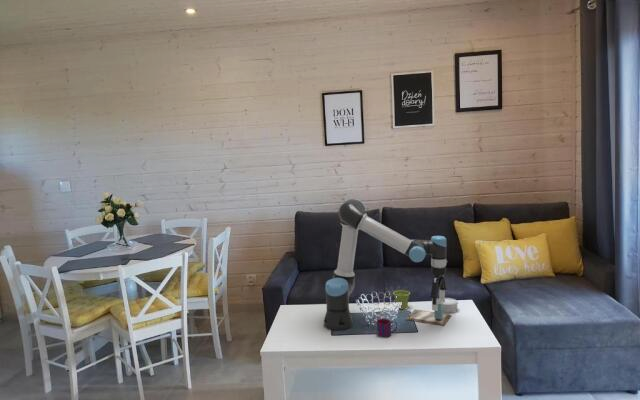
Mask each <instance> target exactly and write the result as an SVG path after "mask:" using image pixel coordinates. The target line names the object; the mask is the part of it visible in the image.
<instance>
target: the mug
mask: <svg viewBox="0 0 640 400" xmlns="http://www.w3.org/2000/svg"><path fill="white" fill-rule="evenodd" d="M394 323H395V325H396V327H395V328H394V329H392V324H394ZM397 329H398V322H397V321H391V320H390V319H388V318H379V319H378V320H376V335H377V336H378V337H379V338H389V337H390V336H392V333H394V332H396V331H397Z"/></svg>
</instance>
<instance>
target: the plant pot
mask: <svg viewBox="0 0 640 400" xmlns="http://www.w3.org/2000/svg"><path fill="white" fill-rule="evenodd" d="M392 293H393V294H392V295H393V297H394V301H395V303H396V302H402V305H401V308H400V309H399V310H406V309H408V307H409V298H410V295H411V292H410V291H408V290H395V291H392ZM396 296H397V298H396Z"/></svg>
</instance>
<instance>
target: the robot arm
mask: <svg viewBox="0 0 640 400" xmlns="http://www.w3.org/2000/svg"><path fill="white" fill-rule="evenodd" d="M365 207H366V206H365V204H364V203H363V202H362V201H361V200H359V199H356V198H350V199H347V200H346V201H345V202H344V203H342V204H341V205H340V207H339V209H338V211H337V212H338V217H339V219H340V225H341V226H342V228H341V236H340V245H339V252H338V259H337V260H338V261H337V267H336V269H335V270H334V271H333V276H332V278H331V279H329V280H327V281H326V282H325V287H324V289H325V301H326V304H325V305H326V313H325V316H324V320H323V326H324V327H325V328H326V329H328V330H332V331H343V330H347V329H350V328H352V327H353V325H354V320H353V318H352V315H351V312H350V307H349V306H350V303H349V298H350V296H351V294H352V293H353V291H354V289H355V287H356V281H355V276H356V274H355V272H354V264H355V259H356V258H355V257H356V249H357V243H358V235H359V230H360V231H362V232H364V233H366V234H368V235H369V236H371V237H373V238H375V239H376V240H378V241H380V242H382V243H384V244H386V245H387V246H389V247H391V248H392V249H395V250H397V252H400V253H402V254H403V255H405V256H407V257H409V258H410V260H411V261H412V262H414V263H421V262H423V260H424V259H425V258H426V256H427V255H428V256H430V257H431V259H430V266H431V267H430V272H431V274H432V275H434V277H433V278H432V283H431V291H430V292H431V293H430V296H429V297H430V299H431V311H433V312H434V311H438V299H440V300H443V302H445V298H446V294H445V293H446V290H447V289H448V288H447V284H446V277H445V275H446V274H447V267H446V266H447V263H448V260H447V238H446V237H445V236H443V235H433V236H431V238H430V239H429V240H428V239H410V238H408V237H406V236H404V235H402V234H400V233H399V232H397V231H395V230H393V229H391V228H390V227H387V226H386V225H385V224H382V223H380V222H378V221H377V220H375V219H373V218H372V217H370V216H368V214H367V212H366V208H365ZM438 297H439V298H438Z"/></svg>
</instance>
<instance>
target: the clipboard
mask: <svg viewBox="0 0 640 400" xmlns="http://www.w3.org/2000/svg"><path fill="white" fill-rule="evenodd" d="M451 317H452V314H451V313H443V317H442V320H441V321H439V320H436V318H435V317H434V311H429V310H428V311H427V310H421V309H414V310H412V311H411V312H410V313H409V314H408V316H407V317H406V318H405V320H406V321H409V320H412V321H411V322H417V323H423V324H429V325H436V326H443V327H444V326H445V325H446V324H447V323H448V322H449V320H450V319H451Z"/></svg>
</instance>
